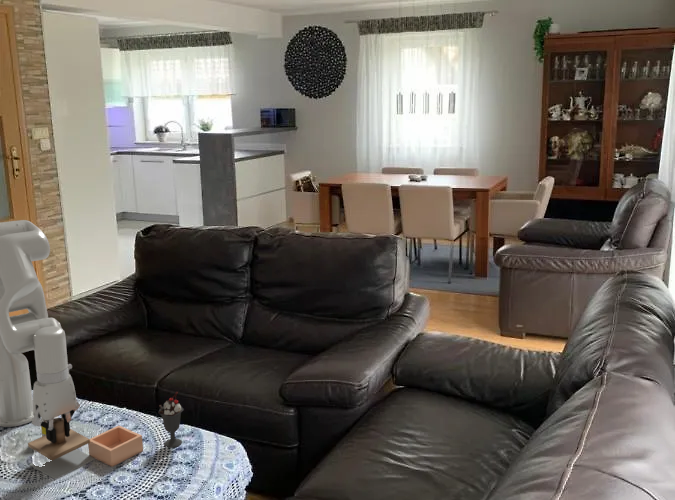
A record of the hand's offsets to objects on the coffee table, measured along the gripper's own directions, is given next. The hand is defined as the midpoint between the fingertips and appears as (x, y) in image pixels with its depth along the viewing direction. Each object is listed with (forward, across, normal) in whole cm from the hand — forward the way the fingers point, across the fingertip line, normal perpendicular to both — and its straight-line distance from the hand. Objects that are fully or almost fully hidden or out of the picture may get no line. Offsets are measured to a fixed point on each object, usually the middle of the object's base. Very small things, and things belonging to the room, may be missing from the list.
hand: (58, 437), depth 178 cm
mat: (+7, 0, +1) cm, 7 cm away
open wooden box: (+7, -11, +9) cm, 16 cm away
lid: (+2, 0, 0) cm, 2 cm away
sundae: (+7, -24, +17) cm, 30 cm away
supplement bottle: (+8, -6, -14) cm, 17 cm away
